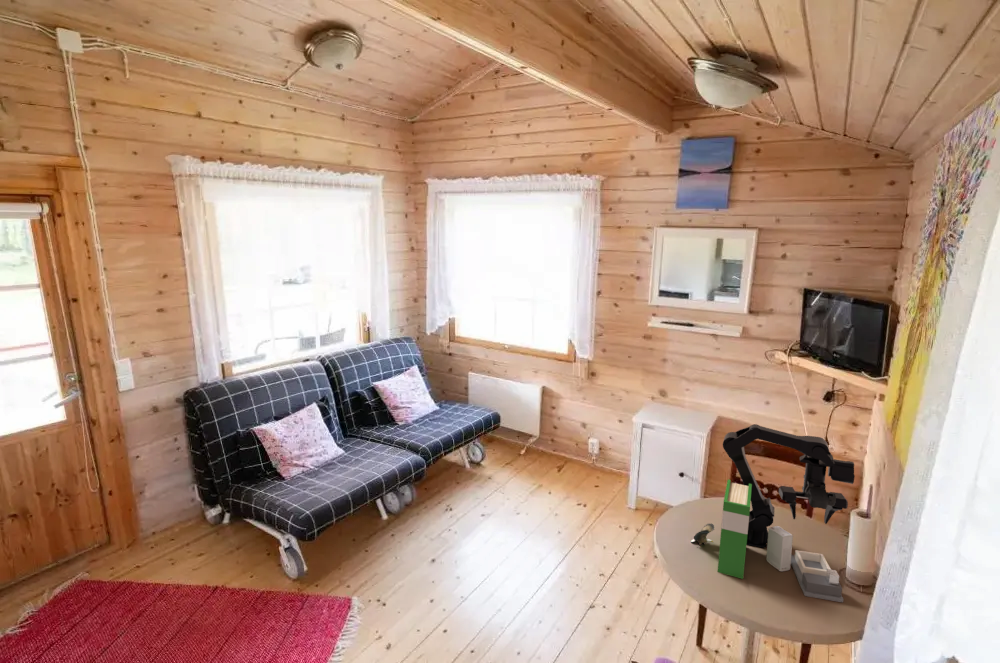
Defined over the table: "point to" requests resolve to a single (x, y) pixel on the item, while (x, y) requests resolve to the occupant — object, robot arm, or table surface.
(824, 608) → the table surface
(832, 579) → the breaker handle
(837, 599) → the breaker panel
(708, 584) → the table surface
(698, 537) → the eagle figurine
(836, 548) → the table surface
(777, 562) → the skincare box
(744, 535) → the hardback book
